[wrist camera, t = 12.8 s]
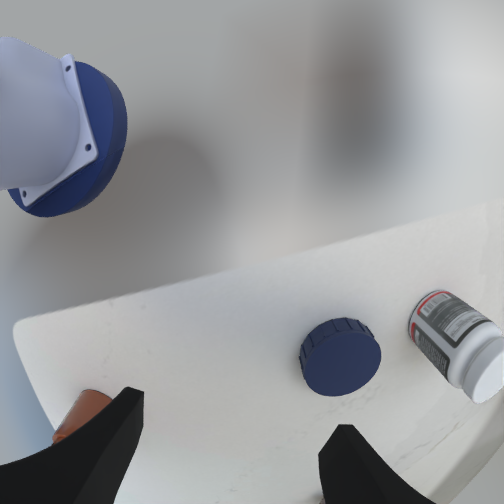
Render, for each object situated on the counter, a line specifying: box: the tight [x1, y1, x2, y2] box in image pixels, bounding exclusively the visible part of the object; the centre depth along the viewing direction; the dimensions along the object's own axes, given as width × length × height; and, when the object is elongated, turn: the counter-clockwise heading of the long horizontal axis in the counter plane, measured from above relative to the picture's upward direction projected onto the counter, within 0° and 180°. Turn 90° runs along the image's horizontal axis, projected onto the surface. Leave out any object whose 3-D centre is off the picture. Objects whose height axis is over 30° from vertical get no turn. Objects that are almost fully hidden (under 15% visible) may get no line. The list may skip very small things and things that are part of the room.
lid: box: [299, 318, 381, 396], centre depth 18 cm, size 5×5×2 cm
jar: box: [52, 390, 112, 445], centre depth 17 cm, size 5×5×8 cm
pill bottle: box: [409, 291, 504, 404], centre depth 14 cm, size 5×5×8 cm
